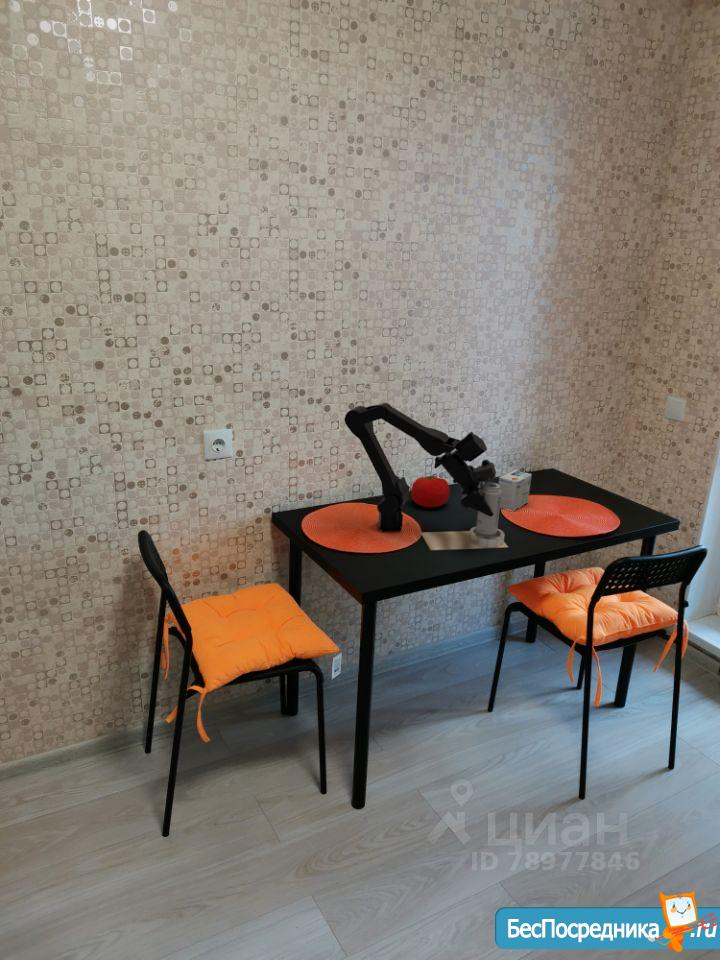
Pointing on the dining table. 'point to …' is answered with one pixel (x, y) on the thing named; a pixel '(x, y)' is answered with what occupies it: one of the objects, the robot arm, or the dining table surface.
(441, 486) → the tomato
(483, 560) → the dining table surface
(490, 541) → the ring clip
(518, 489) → the light bulb box
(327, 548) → the dining table surface
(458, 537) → the plate
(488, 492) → the energy drink can
